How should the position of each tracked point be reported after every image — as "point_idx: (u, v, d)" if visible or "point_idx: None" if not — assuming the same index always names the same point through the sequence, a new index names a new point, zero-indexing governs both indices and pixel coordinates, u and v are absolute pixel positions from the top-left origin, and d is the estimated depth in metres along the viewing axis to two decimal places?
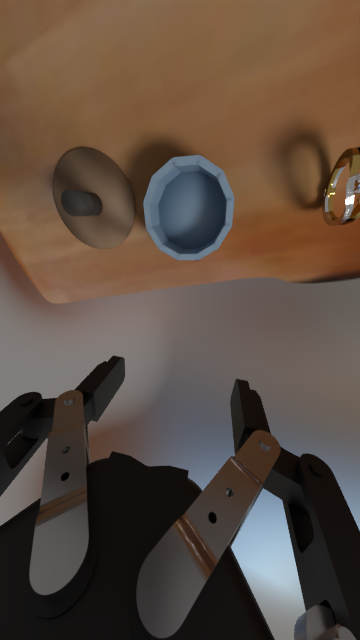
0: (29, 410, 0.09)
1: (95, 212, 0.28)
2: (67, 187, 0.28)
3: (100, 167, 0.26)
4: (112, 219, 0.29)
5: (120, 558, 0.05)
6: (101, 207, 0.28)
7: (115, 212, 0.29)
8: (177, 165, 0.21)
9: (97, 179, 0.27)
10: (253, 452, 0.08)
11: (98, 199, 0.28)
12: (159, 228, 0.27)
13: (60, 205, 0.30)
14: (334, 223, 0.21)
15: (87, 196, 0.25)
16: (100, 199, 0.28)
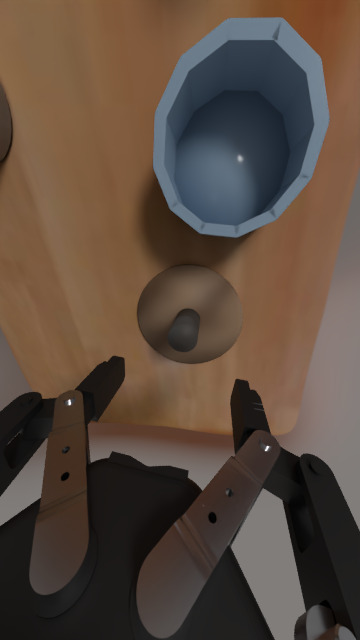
0: (29, 410, 0.09)
1: (197, 319, 0.21)
2: (167, 341, 0.25)
3: (155, 296, 0.23)
4: (208, 301, 0.22)
5: (120, 557, 0.05)
6: (193, 310, 0.22)
7: (202, 294, 0.22)
8: (163, 160, 0.13)
9: (165, 304, 0.23)
10: (253, 452, 0.08)
11: (184, 310, 0.22)
12: None
13: (182, 357, 0.25)
14: None
15: (178, 319, 0.20)
16: (185, 309, 0.23)
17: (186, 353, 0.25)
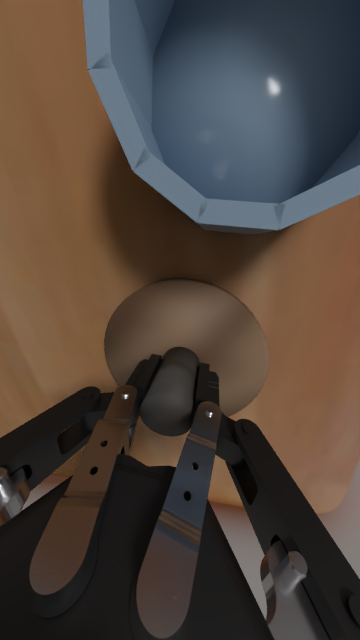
0: (93, 403, 0.09)
1: (195, 368, 0.13)
2: None
3: (130, 327, 0.14)
4: (213, 338, 0.13)
5: (120, 558, 0.05)
6: (188, 351, 0.14)
7: (202, 327, 0.13)
8: (108, 47, 0.06)
9: (145, 340, 0.15)
10: (196, 417, 0.09)
11: (174, 351, 0.14)
12: None
13: None
14: None
15: (161, 373, 0.12)
16: (176, 347, 0.14)
17: None
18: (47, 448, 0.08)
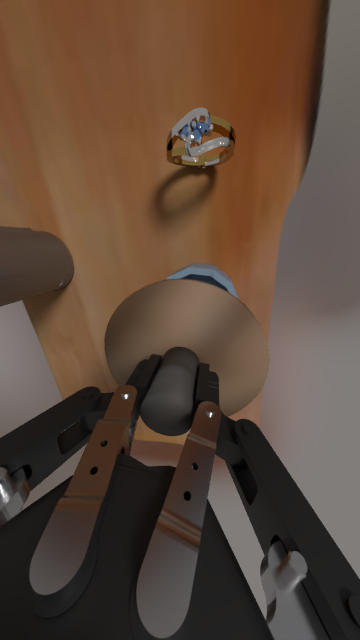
0: (93, 403, 0.09)
1: (195, 367, 0.13)
2: None
3: (130, 327, 0.14)
4: (213, 338, 0.13)
5: (120, 557, 0.05)
6: (188, 351, 0.14)
7: (202, 327, 0.13)
8: None
9: (145, 340, 0.15)
10: (196, 417, 0.09)
11: (174, 351, 0.14)
12: None
13: None
14: (231, 150, 0.18)
15: (162, 373, 0.12)
16: (176, 347, 0.14)
17: None
18: (47, 448, 0.08)
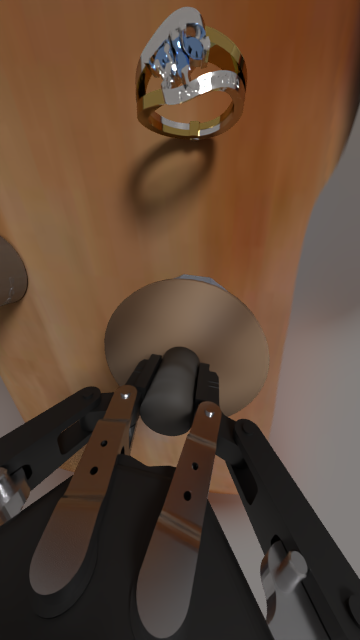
0: (93, 403, 0.09)
1: (195, 367, 0.13)
2: None
3: (130, 327, 0.14)
4: (213, 337, 0.13)
5: (120, 557, 0.05)
6: (188, 351, 0.14)
7: (202, 327, 0.13)
8: None
9: (145, 340, 0.15)
10: (196, 417, 0.09)
11: (174, 351, 0.14)
12: None
13: None
14: (240, 103, 0.11)
15: (162, 373, 0.12)
16: (176, 347, 0.14)
17: None
18: (47, 448, 0.08)
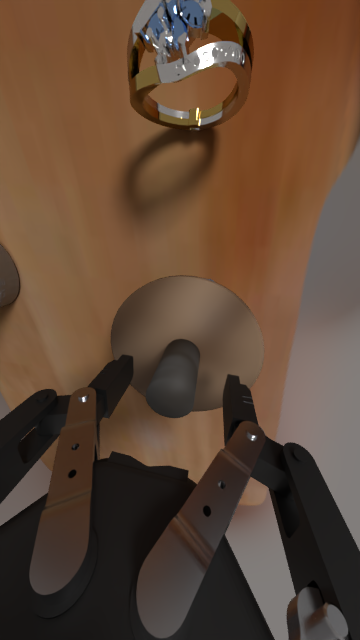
0: (46, 406, 0.09)
1: (195, 357, 0.14)
2: None
3: (134, 321, 0.15)
4: (212, 330, 0.15)
5: (120, 558, 0.05)
6: (189, 342, 0.15)
7: (202, 320, 0.14)
8: None
9: (149, 333, 0.16)
10: (239, 441, 0.08)
11: (176, 343, 0.15)
12: None
13: None
14: (245, 84, 0.10)
15: (165, 361, 0.13)
16: (178, 340, 0.15)
17: None
18: (8, 459, 0.07)
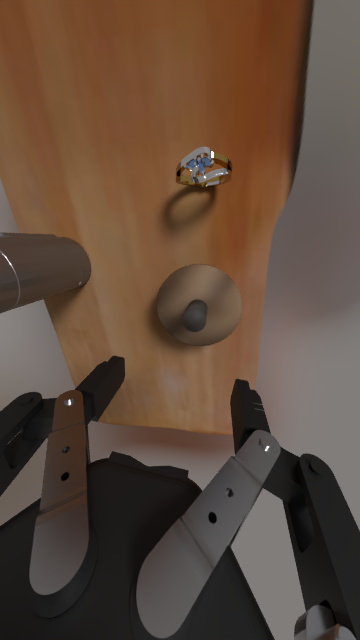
0: (29, 410, 0.09)
1: (205, 307, 0.27)
2: (180, 327, 0.30)
3: (171, 289, 0.28)
4: (214, 293, 0.27)
5: (120, 557, 0.05)
6: (201, 301, 0.28)
7: (208, 288, 0.27)
8: None
9: (179, 296, 0.28)
10: (253, 452, 0.08)
11: (194, 300, 0.27)
12: None
13: (192, 341, 0.31)
14: (228, 177, 0.23)
15: (190, 306, 0.25)
16: (195, 300, 0.28)
17: (196, 337, 0.30)
18: None
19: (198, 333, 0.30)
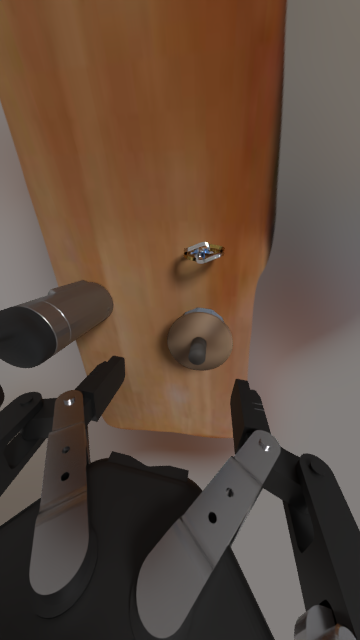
0: (29, 410, 0.09)
1: (205, 344, 0.35)
2: (185, 356, 0.39)
3: (179, 329, 0.37)
4: (211, 333, 0.36)
5: (120, 557, 0.05)
6: (202, 338, 0.36)
7: (207, 329, 0.36)
8: None
9: (185, 334, 0.37)
10: (253, 452, 0.08)
11: (197, 338, 0.36)
12: None
13: (195, 366, 0.40)
14: None
15: (194, 345, 0.34)
16: (197, 337, 0.37)
17: None
18: None
19: None
